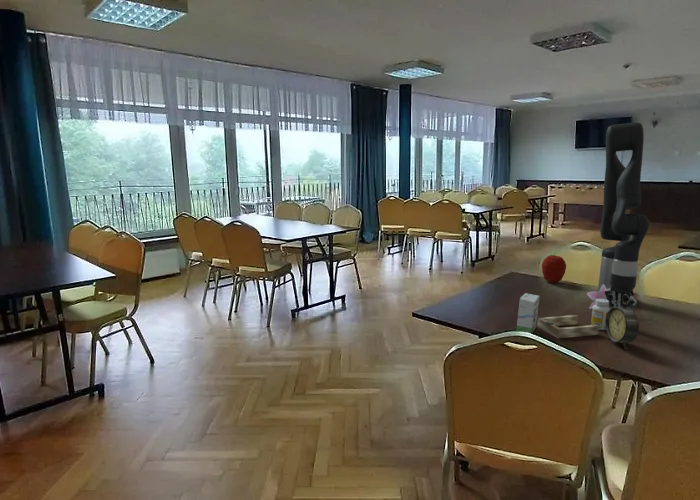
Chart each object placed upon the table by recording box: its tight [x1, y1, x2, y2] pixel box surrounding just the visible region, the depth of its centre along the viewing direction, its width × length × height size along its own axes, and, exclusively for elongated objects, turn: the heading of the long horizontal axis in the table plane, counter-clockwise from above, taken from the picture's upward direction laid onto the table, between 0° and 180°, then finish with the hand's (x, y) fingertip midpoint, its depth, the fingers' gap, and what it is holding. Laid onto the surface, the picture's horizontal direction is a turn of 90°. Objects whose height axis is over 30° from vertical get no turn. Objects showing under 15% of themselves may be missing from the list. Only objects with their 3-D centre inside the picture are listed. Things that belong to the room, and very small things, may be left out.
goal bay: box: [536, 314, 600, 339], centre depth 156 cm, size 15×11×3 cm
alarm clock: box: [605, 294, 640, 351], centre depth 143 cm, size 11×5×16 cm, turn 0°
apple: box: [541, 254, 567, 284], centre depth 214 cm, size 10×10×14 cm
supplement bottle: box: [590, 299, 611, 331], centre depth 158 cm, size 5×5×10 cm
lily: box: [586, 284, 613, 310], centre depth 176 cm, size 12×12×10 cm
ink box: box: [515, 292, 540, 334], centre depth 155 cm, size 9×5×12 cm, turn 148°
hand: (618, 321), depth 160 cm, fingers closed
